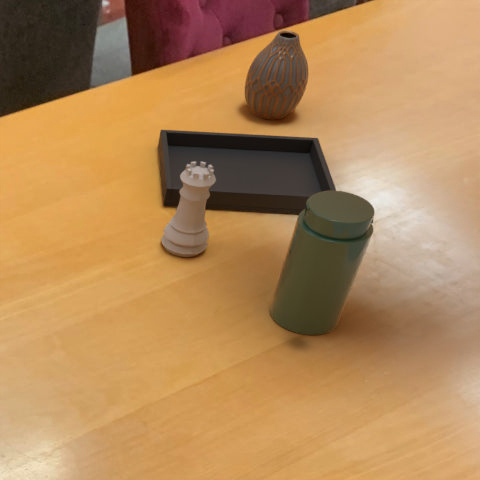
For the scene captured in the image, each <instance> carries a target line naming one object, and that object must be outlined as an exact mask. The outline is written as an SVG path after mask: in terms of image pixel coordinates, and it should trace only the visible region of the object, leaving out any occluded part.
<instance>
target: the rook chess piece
mask: <svg viewBox="0 0 480 480" xmlns="http://www.w3.org/2000/svg"><path fill="white" fill-rule="evenodd" d="M205 165H206V162H201V163H200V166H196V161H194V162H191V164H190V165H189V164H187V166H186V169H185V170H184V171H183V172H182V173H181V175H180V178H181V181H182V183H183V187H182V188H181V189H180V191H179V192H180V195H181V197H180V202H179V205H178V207H176V210H175V212H174V213H175V214H174V216H172V217H171V218H170V220H169V222H167V224H166V226H164V229H163V235H162V237H161V239H160V240H161V244H162V246H163V248H164V249H165V250H166V251H167V252H168V253H170V254H172V255H174V256H178V257H183V258H191V257H195V256H198V255H199V254H201V253H203V252H204V251H205V250H206V249H207V247H208V245H209V243H208V239H209V237H210V234H209V229H208V227H207V221H206V209H205V206H206V201H207V199H208V198H209V196H210V193H209V188H210V187H211V186H212V185H213V184H214V183H215V181H216V178H215V176H214V174H213V172H214V169H213V166H212V165H211V164H210V165H208V168H206V167H205Z"/></svg>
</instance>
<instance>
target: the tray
mask: <svg viewBox="0 0 480 480" xmlns="http://www.w3.org/2000/svg"><path fill="white" fill-rule="evenodd" d="M157 151H158V153H157V154H158V162H159V163H158V164H159V171H160V172H159V173H160V183H161V184H160V185H161V195H162V207H169V208H178V205H179V202H180V197H181V195H180V192H179V191H180V189H181V188H182V187H183V183H182V181H181V178H180V175H181V173H182V172H183V171H184V170H185V169H186V166H187V164H189V165H190V164H191V162H194V161H196V166H200V163H201V162H206V165H205V167H206V168H208V165H210V164H211V165H212V166H213V169H214V172H213V174H214V176H215V178H216V181H215V183H214V184H213V185H212V186H211V187H210V188H209V193H210V196H209V198H208V199H207V201H206V206H205V210H218V211H219V210H222V211H235V212H236V211H239V212H255V213H271V214H290V215H299V214H300V212H301V211H303V210H304V209H306V201H307V200H308V199H309V197H311V196H312V195H314V194H316V193H318V192H322V191H337V188H336V185H335V182H334V180H333V176H332V174H331V171H330V169H329V166H328V162H327V160H326V158H325V155H324V152H323V148H322V146H321V142H320V141H319V138H318V137H310V136H309V137H308V136H307V137H306V136H286V135H271V134H270V135H268V134H251V133H231V132H214V131H197V130H196V131H193V130H191V131H190V130H177V129H175V130H174V129H160V132H159V138H158V144H157Z"/></svg>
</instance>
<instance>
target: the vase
mask: <svg viewBox="0 0 480 480" xmlns="http://www.w3.org/2000/svg"><path fill="white" fill-rule="evenodd" d="M308 81H309V63H308V59H307V57H306V54H305V52H304V50H303V47H302V45H301V41H300V35H299V34H298V33H297V32H295V31H291V30H281V31H279V32H277V34H276V35H275V36H274V38H273V39H272V41H270V42H269V43H268V44H267V45H266V46H265V47H264V48H263V49H261V50H260V52H258V54H256V56H255V57H254V59H253V60H252V62H251V64H250V66H249V69H248V70H247V73H246V77H245V82H244V99H245V103H246V105H247V107H248V109H249V111H250V112H251V114H253V115H254V116H256V117H257V118H260V119H264V120H280V119H282V118H284V117H286V116H287V115H289V114H291V113H292V112H294V110H296V108H297V107H298V105H299V104H300V102H301V101H302V98H303V96H304V94H305V91H306V89H307V85H308Z"/></svg>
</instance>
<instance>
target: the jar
mask: <svg viewBox="0 0 480 480" xmlns="http://www.w3.org/2000/svg"><path fill="white" fill-rule="evenodd" d="M375 213H376V212H375V208H374V206H373V204H372V203H370V201H368V200H367V199H366V198H364V197H362V196H361V195H357V194H354V193H351V192H348V191H341V190H336V191H322V192H318V193H316V194H314V195H312V196H311V197H309V199H308V200H307V201H306V209H304V210H303V211H301V212H300V214H297V215H298V216H297V219H296V221H295V225H294V229H293V232H292V235H291V238H290V241H289V244H288V247H287V250H286V253H285V257H284V261H283V263H282V266H281V270H280V273H279V277H278V280H277V283H276V286H275V289H274V292H273V295H272V298H271V302H270V305H269V315H270V317H271V318H272V319H273V321H274V322H275V323H277V325H279V326H280V327H282V328H283V329H286V330H287V331H290V332H293V333H296V334H299V335H305V336H306V335H307V336H319V335H324V334H325V335H326V334H327V333H329V332H332V331H334V330H335V329H336V327H338V325H339V323H340V320H341V317H342V315H343V311H344V309H345V307H346V304H347V301H348V299H349V296H350V294H351V291H352V288H353V286H354V283H355V281H356V278H357V276H358V273H359V271H360V268H361V265H362V262H363V260H364V257H365V254H366V252H367V250H368V247H369V246H370V245H369V244H370V242H371V240H372V236H373V234H374V225H373V224H374V219H375V215H376V214H375Z"/></svg>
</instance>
